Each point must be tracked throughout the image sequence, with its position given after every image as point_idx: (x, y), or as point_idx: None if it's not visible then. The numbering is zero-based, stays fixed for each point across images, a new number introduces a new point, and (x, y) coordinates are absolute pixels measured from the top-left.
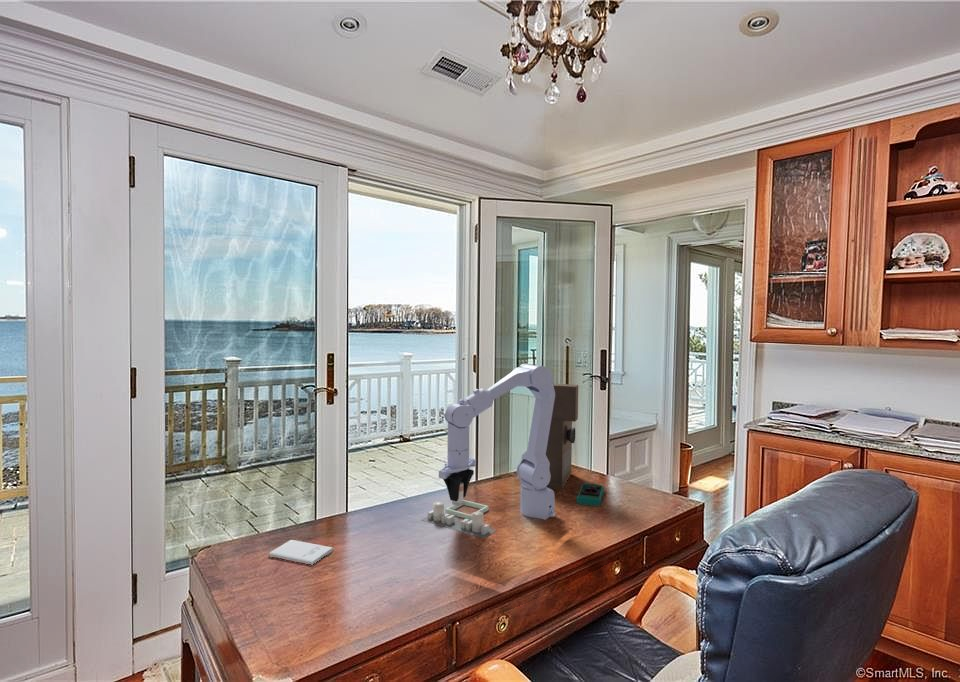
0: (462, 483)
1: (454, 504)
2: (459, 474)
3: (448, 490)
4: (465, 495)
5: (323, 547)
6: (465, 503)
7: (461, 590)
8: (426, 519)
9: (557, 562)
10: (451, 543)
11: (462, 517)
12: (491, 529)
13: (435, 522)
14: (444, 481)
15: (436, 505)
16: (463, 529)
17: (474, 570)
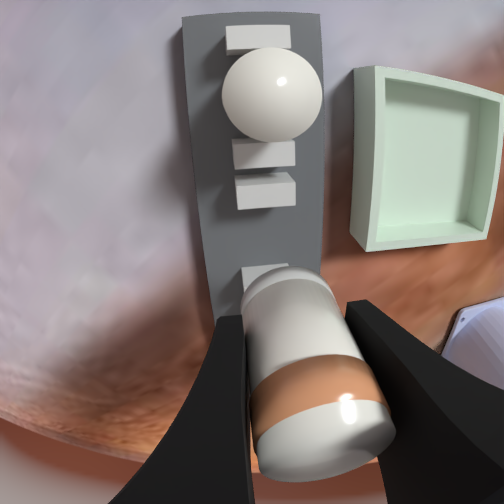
0: (350, 467)
1: (241, 313)
2: (440, 496)
3: (196, 387)
4: None
5: None
6: (491, 111)
7: (34, 415)
8: (211, 36)
9: (252, 468)
10: (131, 293)
11: (362, 188)
12: None
13: (211, 108)
14: (126, 486)
15: (226, 106)
16: (236, 286)
17: (89, 409)
